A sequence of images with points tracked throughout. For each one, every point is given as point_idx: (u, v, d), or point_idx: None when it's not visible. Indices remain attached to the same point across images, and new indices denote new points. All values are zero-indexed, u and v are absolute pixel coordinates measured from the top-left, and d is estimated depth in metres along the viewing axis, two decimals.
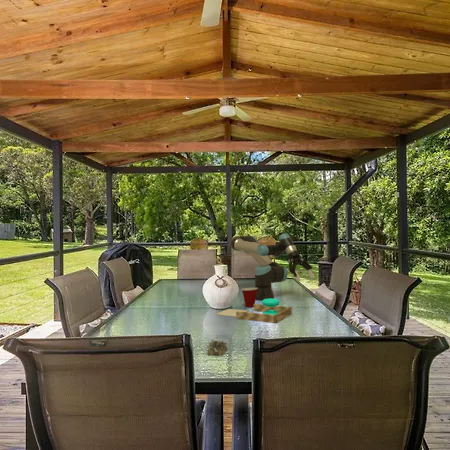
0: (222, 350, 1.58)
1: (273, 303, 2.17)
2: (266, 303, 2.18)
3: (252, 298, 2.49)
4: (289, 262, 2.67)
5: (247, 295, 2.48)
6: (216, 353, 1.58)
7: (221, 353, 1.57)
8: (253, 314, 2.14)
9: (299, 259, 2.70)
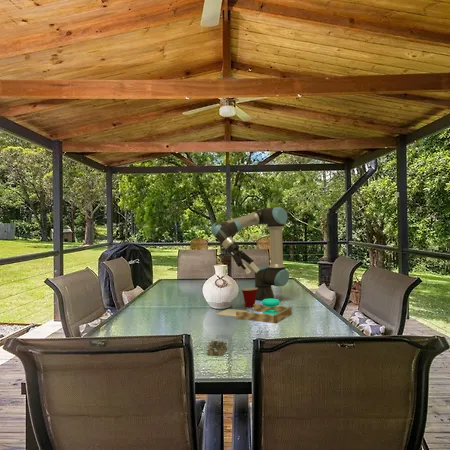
0: (222, 350, 1.58)
1: (273, 303, 2.17)
2: (266, 303, 2.18)
3: (252, 298, 2.49)
4: (243, 253, 2.39)
5: (247, 295, 2.48)
6: (216, 353, 1.58)
7: (221, 353, 1.57)
8: (253, 314, 2.14)
9: None
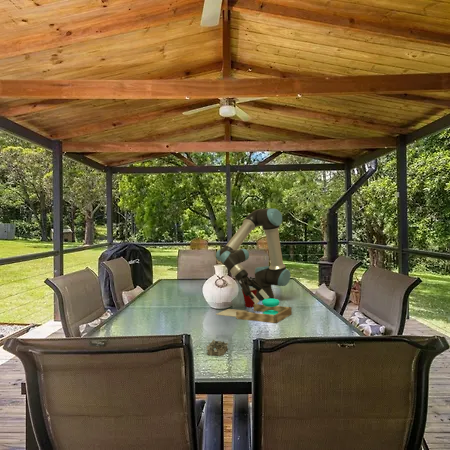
0: (221, 350, 1.58)
1: (273, 303, 2.17)
2: (266, 303, 2.18)
3: None
4: (252, 280, 2.34)
5: None
6: (215, 353, 1.58)
7: (220, 353, 1.57)
8: (253, 314, 2.14)
9: None
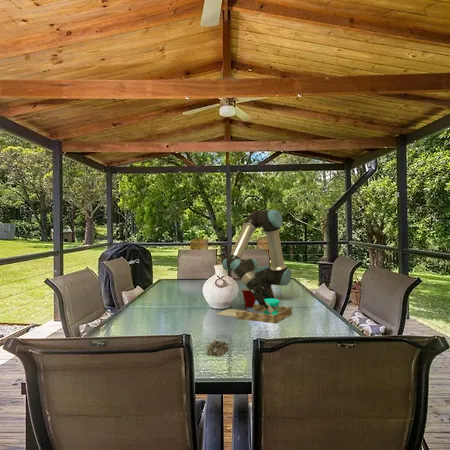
0: (221, 350, 1.57)
1: (273, 303, 2.17)
2: None
3: (252, 298, 2.49)
4: (263, 288, 2.31)
5: (247, 295, 2.48)
6: (215, 353, 1.58)
7: (220, 353, 1.57)
8: (253, 314, 2.14)
9: None
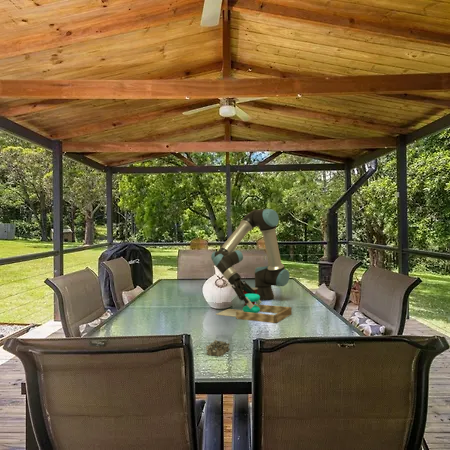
0: (220, 351, 1.57)
1: (253, 298, 2.22)
2: None
3: None
4: (245, 283, 2.35)
5: None
6: (215, 353, 1.58)
7: (219, 354, 1.57)
8: (253, 314, 2.14)
9: None
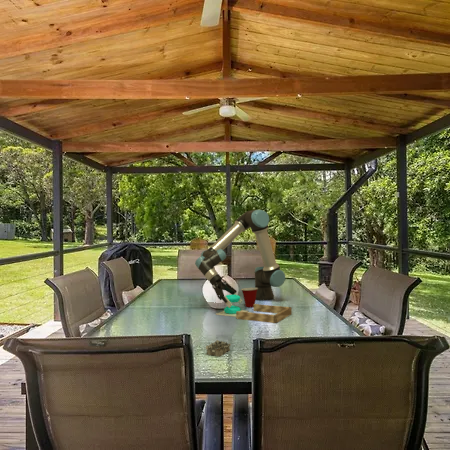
0: (219, 351, 1.57)
1: (233, 299, 2.30)
2: None
3: (252, 298, 2.49)
4: None
5: (247, 295, 2.48)
6: (214, 353, 1.58)
7: (218, 354, 1.57)
8: (253, 314, 2.14)
9: None
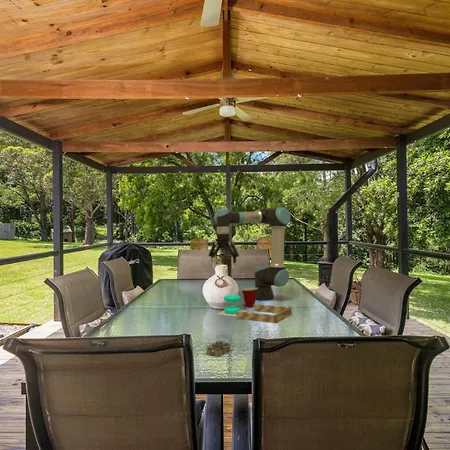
0: (219, 351, 1.57)
1: (233, 299, 2.30)
2: (227, 299, 2.30)
3: (252, 298, 2.49)
4: None
5: (247, 295, 2.48)
6: (214, 353, 1.58)
7: (217, 354, 1.56)
8: (253, 314, 2.14)
9: (223, 244, 2.38)
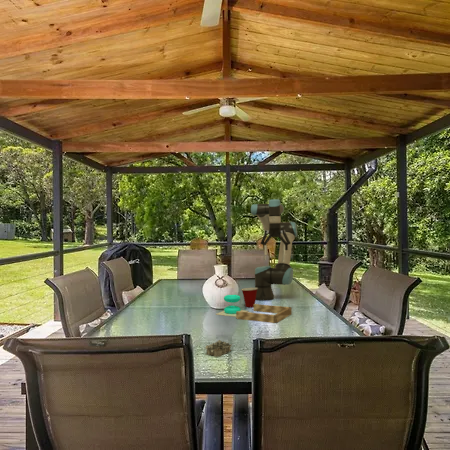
0: (218, 351, 1.56)
1: (233, 299, 2.30)
2: (227, 299, 2.30)
3: (252, 298, 2.49)
4: None
5: (247, 295, 2.48)
6: (213, 353, 1.58)
7: (217, 354, 1.56)
8: (253, 314, 2.14)
9: (275, 232, 2.55)
